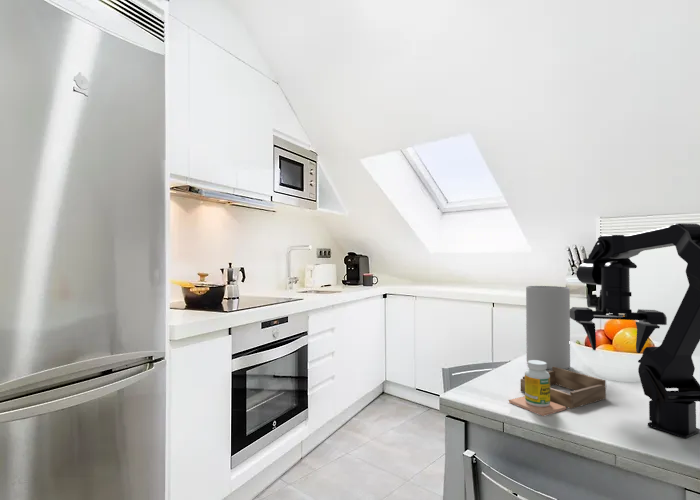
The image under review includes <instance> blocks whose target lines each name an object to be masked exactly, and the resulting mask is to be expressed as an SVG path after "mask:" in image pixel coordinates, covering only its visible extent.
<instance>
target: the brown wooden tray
mask: <svg viewBox="0 0 700 500" xmlns="http://www.w3.org/2000/svg"><path fill="white" fill-rule="evenodd" d="M547 372H548V373H549V374H550V386H552V385H556V386H560V387H564V388H566V389H568V390H570V391H569V393H568V392H565V391H563V390H559V389H555V388H552V387H550V401H551V402H554V403H557V404H560V405H562V406H565V407H566V409H571V410H572V409H575V408H578V407H581V406H585V405H588V404H589V405H590V404H593V403H596V402H599V401H603V400H606V398H607V396H606V395H607V394H606V393H607V391H606V390H607V389H606V387H607V386H606V380H605V379H602V378H600V377H599V378H598V377H595V376H590V375H587V374H583V373H579V372H576V371H573V370H568V369H561V368H558V367H552V370H548V371H547ZM571 390H572V391H571ZM520 391H521V392H523V393H525V375H524V376H522V378H520Z"/></svg>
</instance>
